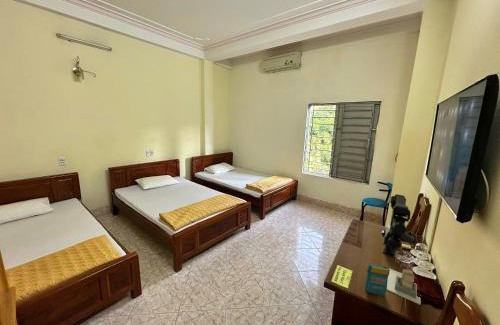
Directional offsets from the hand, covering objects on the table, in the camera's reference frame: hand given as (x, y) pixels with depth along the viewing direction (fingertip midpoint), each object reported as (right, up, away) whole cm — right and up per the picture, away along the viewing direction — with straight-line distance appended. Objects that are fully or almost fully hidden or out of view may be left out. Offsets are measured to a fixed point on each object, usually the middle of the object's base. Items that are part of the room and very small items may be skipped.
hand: (393, 249), depth 126 cm
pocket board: (-1, -15, -10) cm, 19 cm away
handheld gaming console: (-20, -16, -16) cm, 30 cm away
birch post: (-3, -15, -13) cm, 21 cm away
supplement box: (+19, -8, +30) cm, 37 cm away
